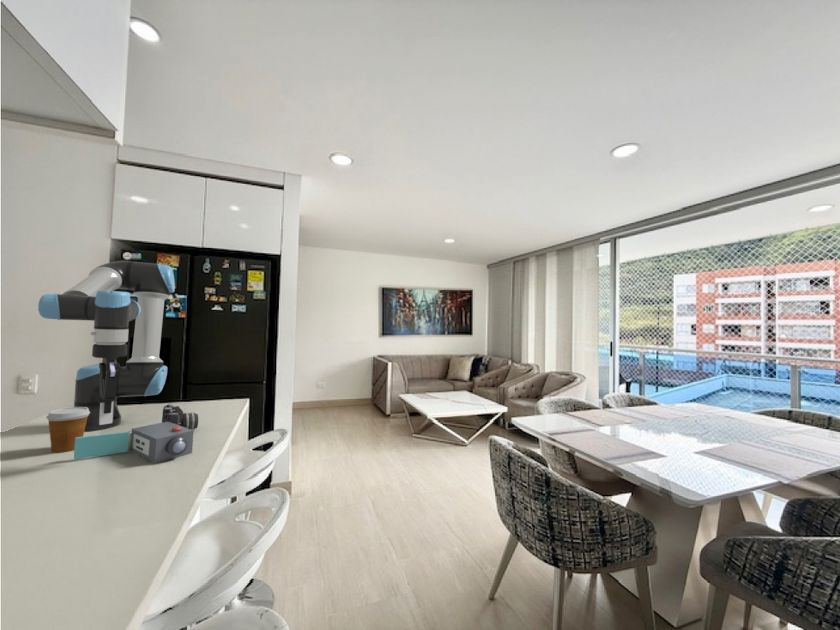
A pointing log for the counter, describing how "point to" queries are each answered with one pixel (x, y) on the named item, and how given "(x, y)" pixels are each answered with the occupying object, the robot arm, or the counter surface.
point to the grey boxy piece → (161, 441)
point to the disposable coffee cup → (66, 427)
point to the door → (102, 444)
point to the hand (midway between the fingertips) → (105, 423)
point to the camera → (179, 417)
